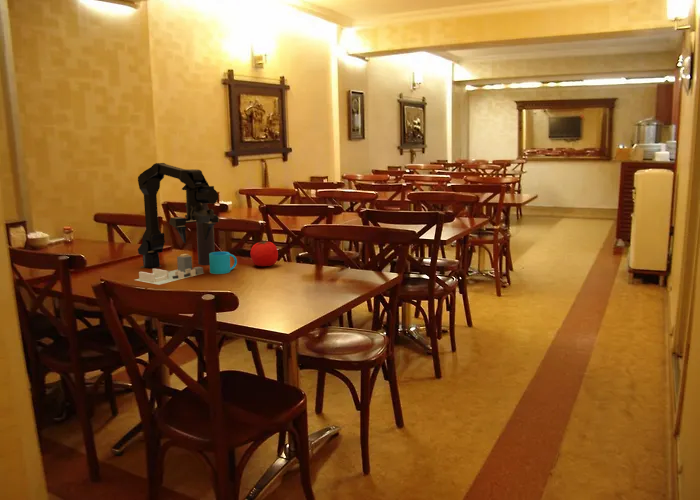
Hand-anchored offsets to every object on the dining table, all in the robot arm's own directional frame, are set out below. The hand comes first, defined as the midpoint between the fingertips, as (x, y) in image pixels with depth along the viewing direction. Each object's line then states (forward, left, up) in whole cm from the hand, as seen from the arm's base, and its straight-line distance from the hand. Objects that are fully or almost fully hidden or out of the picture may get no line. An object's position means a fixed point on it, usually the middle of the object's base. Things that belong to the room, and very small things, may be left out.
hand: (195, 241), depth 234 cm
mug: (+6, +10, -14) cm, 18 cm away
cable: (-1, -6, -13) cm, 14 cm away
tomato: (+12, +28, -14) cm, 33 cm away
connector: (-8, +1, -13) cm, 15 cm away
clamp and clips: (0, -4, -13) cm, 14 cm away
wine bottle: (-11, +17, -14) cm, 25 cm away
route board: (-5, -9, -14) cm, 17 cm away
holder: (-7, -15, -13) cm, 21 cm away
